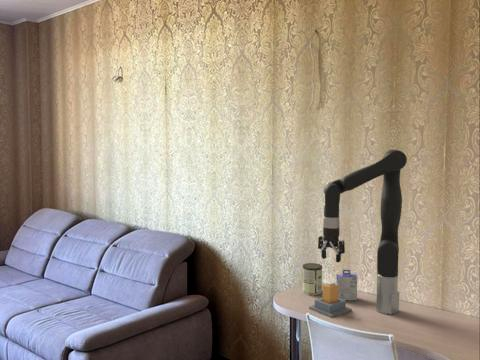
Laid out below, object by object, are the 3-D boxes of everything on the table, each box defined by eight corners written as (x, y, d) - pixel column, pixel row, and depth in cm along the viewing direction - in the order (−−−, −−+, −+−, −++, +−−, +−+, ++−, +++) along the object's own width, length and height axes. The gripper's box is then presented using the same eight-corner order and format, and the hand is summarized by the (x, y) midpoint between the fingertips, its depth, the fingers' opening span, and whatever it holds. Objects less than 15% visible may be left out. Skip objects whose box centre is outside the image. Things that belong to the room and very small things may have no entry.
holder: (351, 310, 215) (351, 301, 215) (331, 317, 207) (331, 308, 206) (328, 302, 226) (328, 293, 226) (308, 308, 218) (309, 299, 217)
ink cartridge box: (355, 296, 234) (355, 269, 233) (357, 300, 228) (358, 272, 227) (335, 296, 234) (336, 269, 233) (337, 300, 229) (338, 272, 227)
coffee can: (304, 287, 248) (305, 262, 247) (323, 289, 245) (324, 264, 243) (300, 293, 239) (300, 267, 238) (319, 296, 235) (320, 269, 234)
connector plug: (338, 307, 216) (338, 282, 215) (329, 310, 213) (329, 285, 212) (330, 304, 220) (331, 280, 219) (322, 307, 216) (322, 282, 215)
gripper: (348, 227, 210) (348, 262, 212) (325, 223, 222) (324, 256, 223) (338, 229, 206) (337, 264, 207) (314, 224, 217) (314, 258, 218)
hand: (330, 260), depth 215 cm, fingers open, 8 cm apart
